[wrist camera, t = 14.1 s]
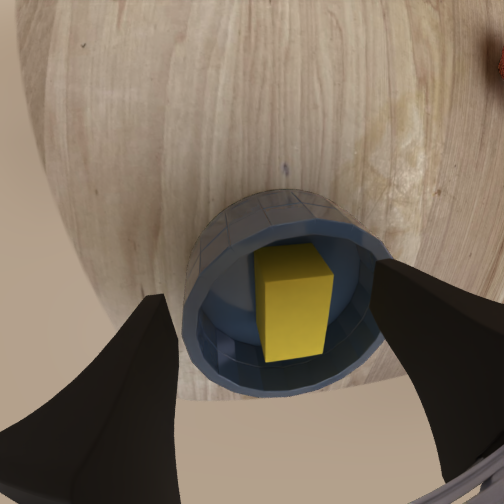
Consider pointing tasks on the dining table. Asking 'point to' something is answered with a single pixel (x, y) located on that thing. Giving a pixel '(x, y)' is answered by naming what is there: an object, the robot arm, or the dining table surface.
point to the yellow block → (291, 300)
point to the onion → (502, 65)
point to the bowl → (244, 302)
